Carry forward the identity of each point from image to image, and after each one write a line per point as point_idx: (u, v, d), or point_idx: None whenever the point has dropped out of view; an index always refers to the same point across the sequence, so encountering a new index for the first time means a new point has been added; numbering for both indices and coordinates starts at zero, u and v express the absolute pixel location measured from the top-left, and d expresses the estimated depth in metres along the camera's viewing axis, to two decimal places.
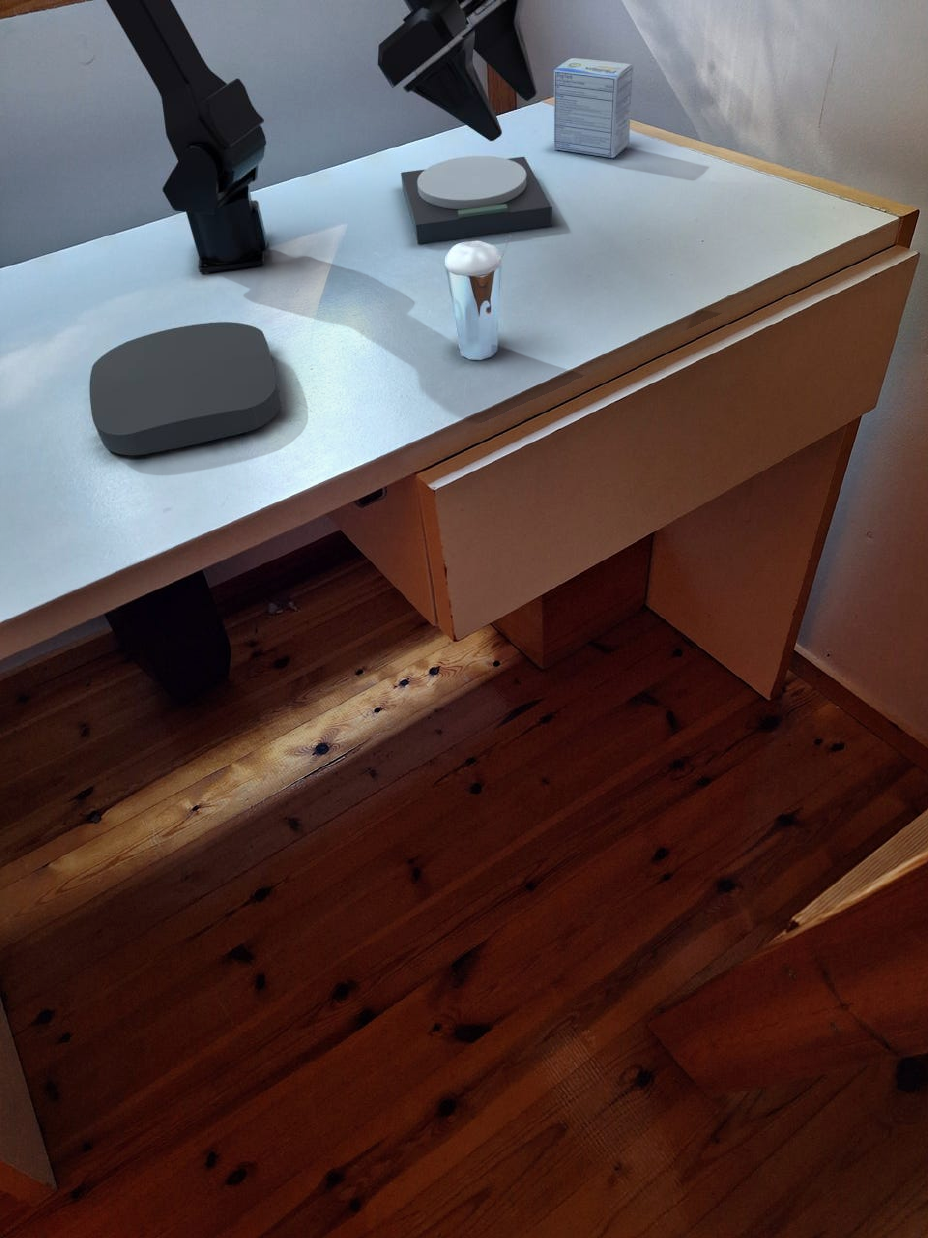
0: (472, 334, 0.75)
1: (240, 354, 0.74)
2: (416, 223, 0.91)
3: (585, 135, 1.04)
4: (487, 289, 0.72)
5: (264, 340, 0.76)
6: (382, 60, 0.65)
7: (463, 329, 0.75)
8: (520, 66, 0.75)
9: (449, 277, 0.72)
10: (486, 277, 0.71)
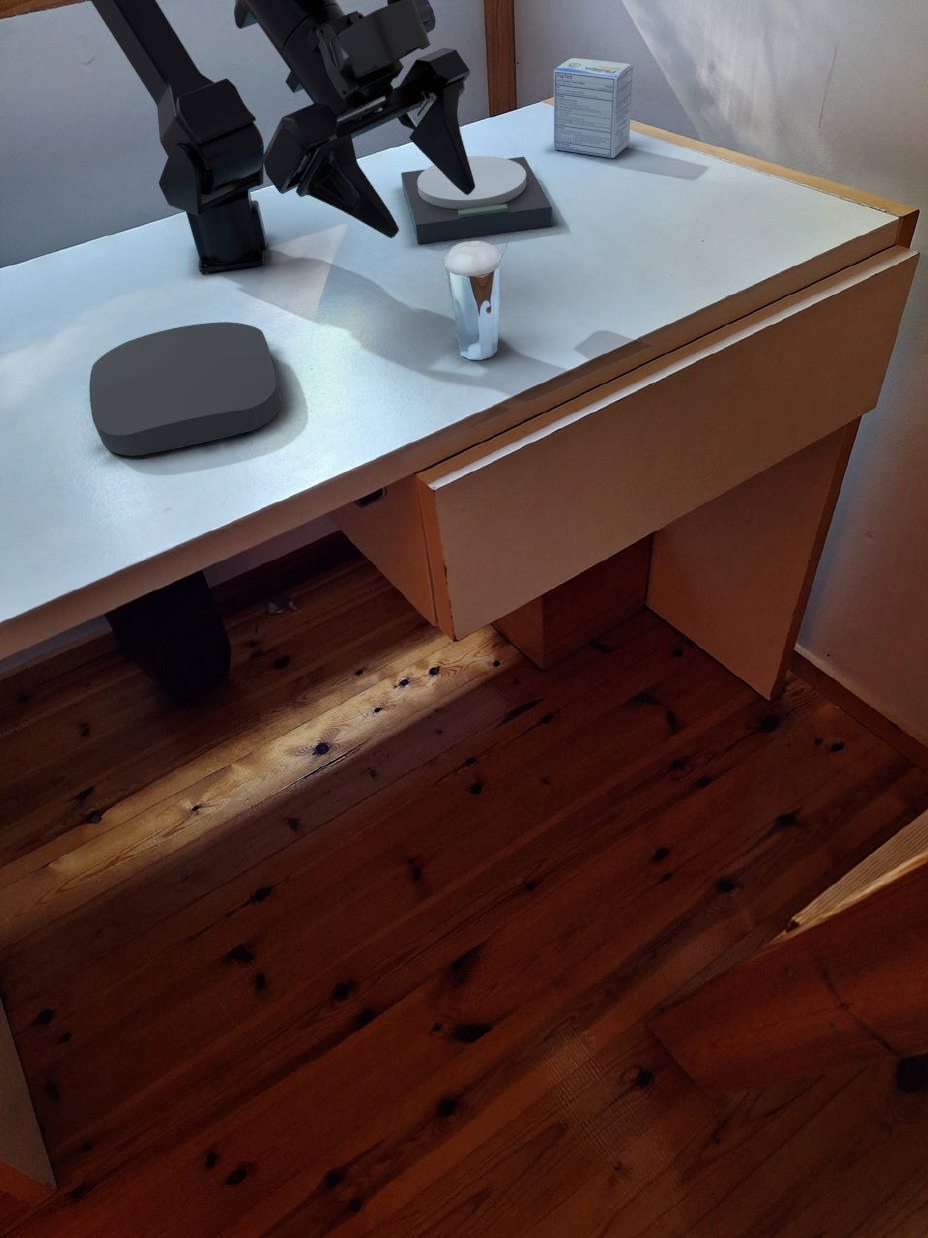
0: (472, 334, 0.75)
1: (240, 354, 0.74)
2: (416, 223, 0.91)
3: (585, 135, 1.04)
4: (487, 290, 0.72)
5: (264, 340, 0.76)
6: (265, 169, 0.67)
7: (463, 329, 0.75)
8: (455, 161, 0.73)
9: (449, 277, 0.72)
10: (486, 277, 0.71)
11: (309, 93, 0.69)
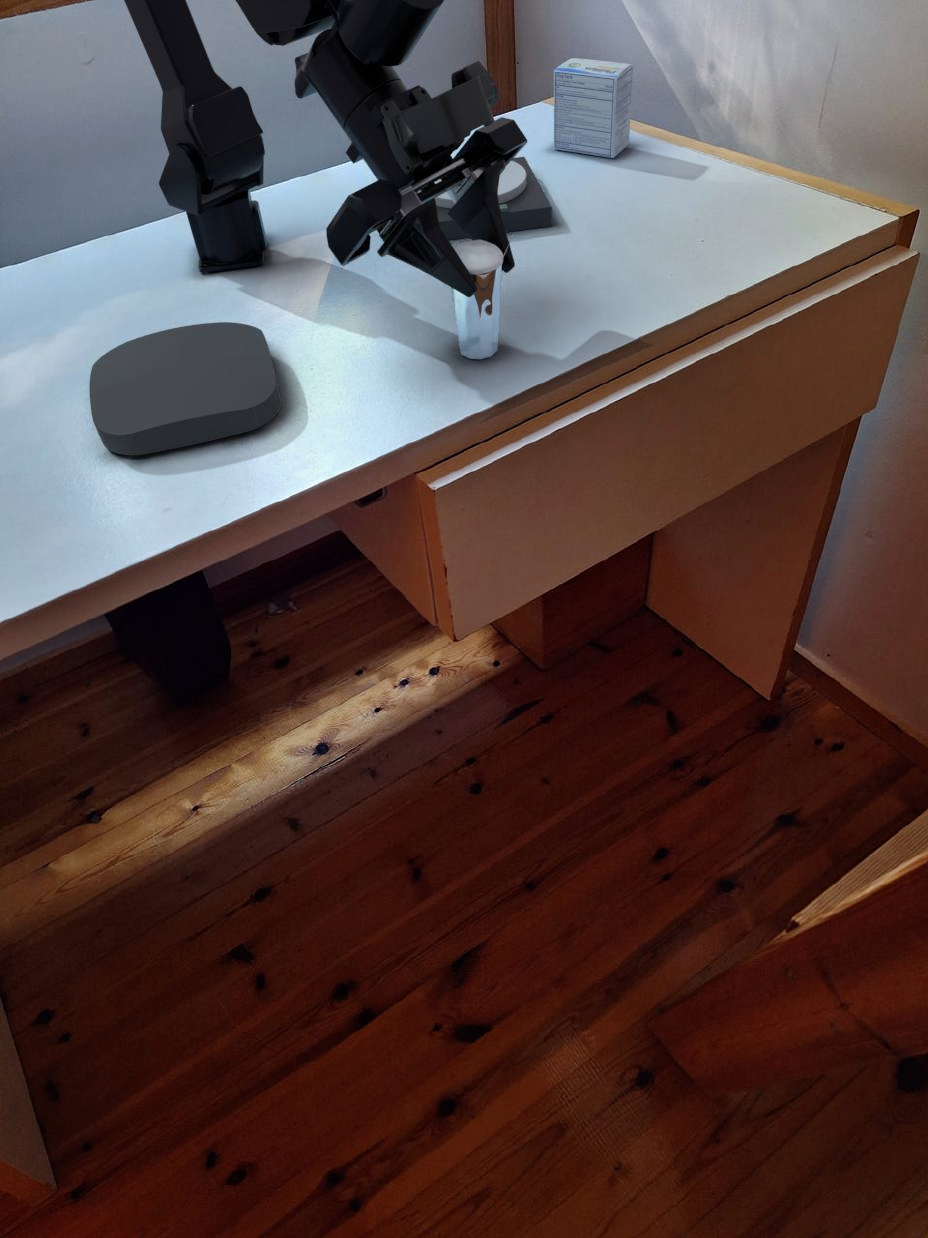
0: (473, 333, 0.75)
1: (240, 354, 0.74)
2: None
3: (585, 135, 1.04)
4: (488, 288, 0.72)
5: (264, 340, 0.76)
6: None
7: (463, 328, 0.75)
8: (495, 240, 0.72)
9: None
10: (488, 276, 0.71)
11: (370, 165, 0.69)
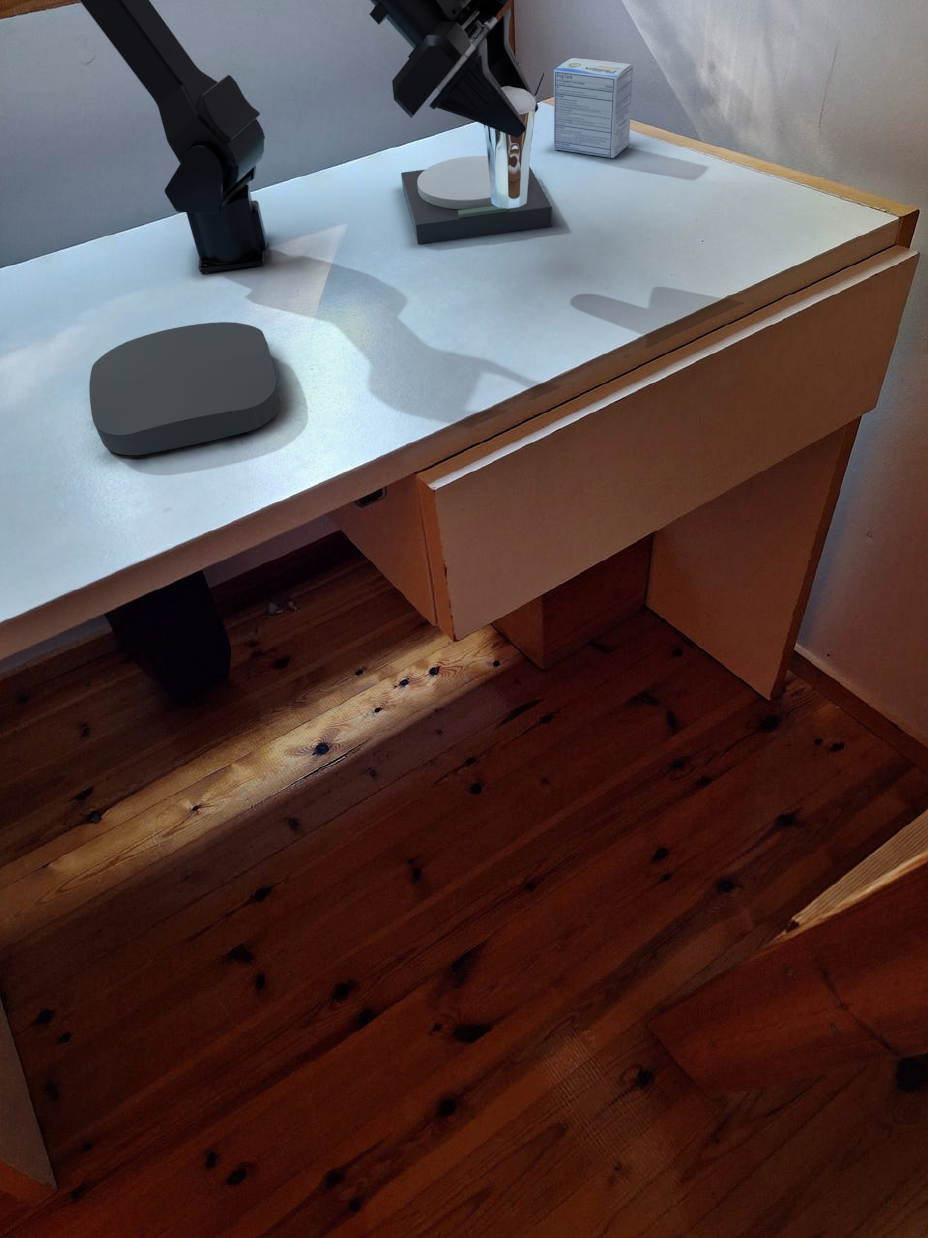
0: (513, 179, 0.78)
1: (240, 354, 0.74)
2: (416, 223, 0.91)
3: (585, 135, 1.04)
4: (529, 129, 0.76)
5: (264, 340, 0.76)
6: (397, 93, 0.68)
7: (504, 177, 0.78)
8: (518, 85, 0.77)
9: None
10: (530, 115, 0.75)
11: (403, 20, 0.71)
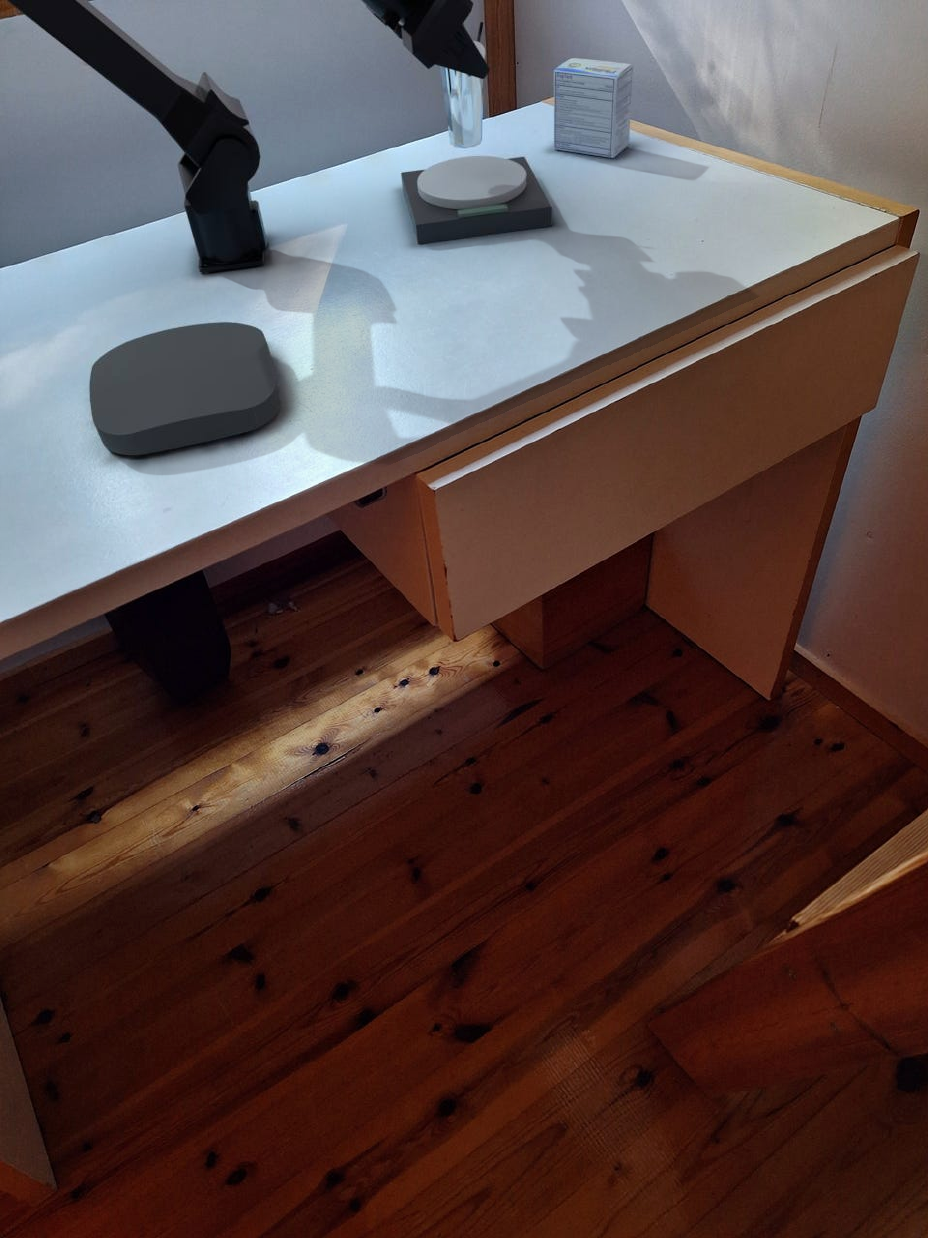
0: (477, 119, 0.90)
1: (240, 354, 0.74)
2: (416, 223, 0.91)
3: (585, 135, 1.04)
4: None
5: (264, 340, 0.76)
6: (420, 47, 0.77)
7: (469, 118, 0.89)
8: None
9: None
10: (484, 58, 0.87)
11: None
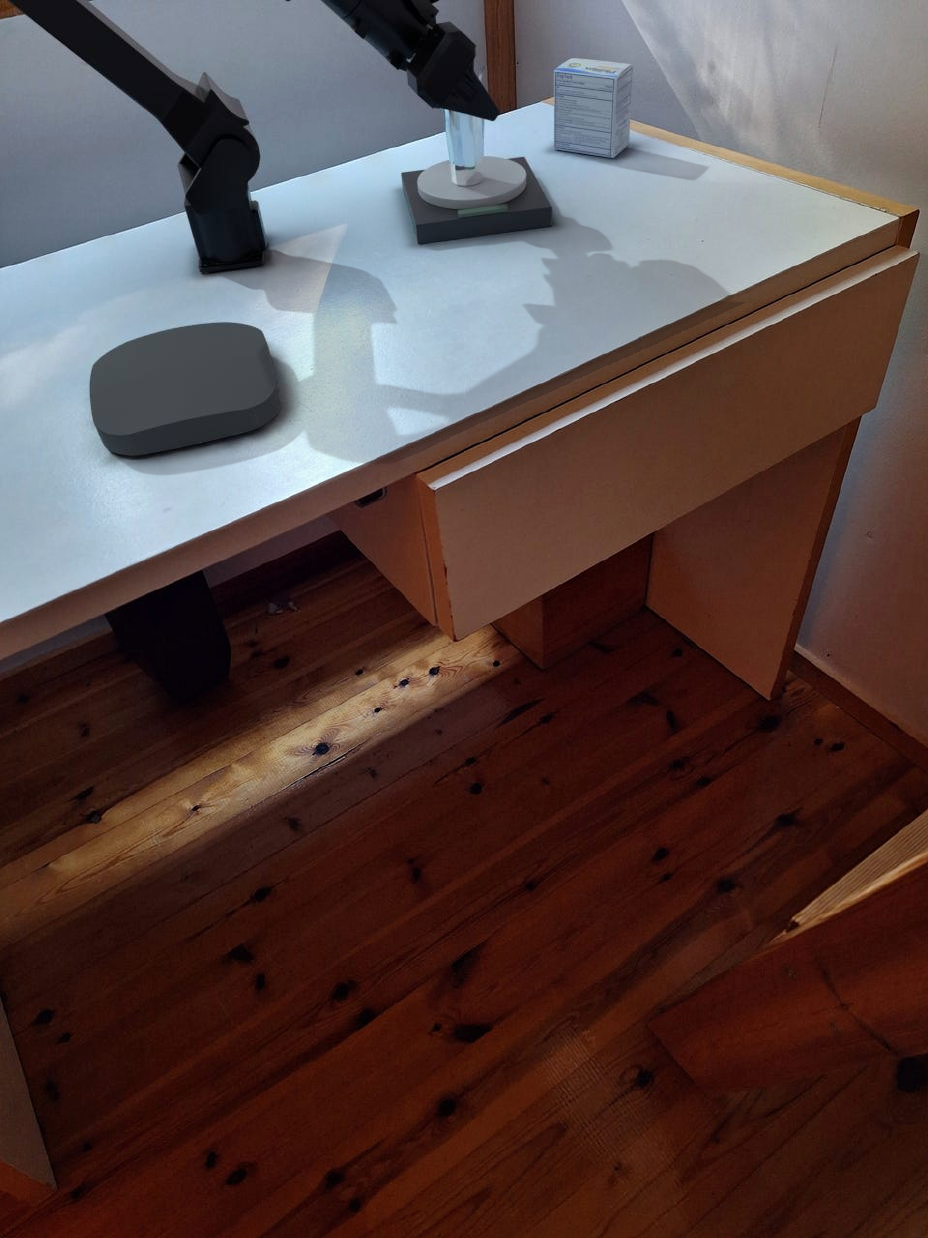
0: (478, 159, 0.92)
1: (240, 354, 0.74)
2: (416, 223, 0.91)
3: (585, 135, 1.04)
4: None
5: (264, 340, 0.76)
6: (425, 89, 0.79)
7: (471, 158, 0.92)
8: None
9: (462, 113, 0.88)
10: None
11: (387, 31, 0.81)
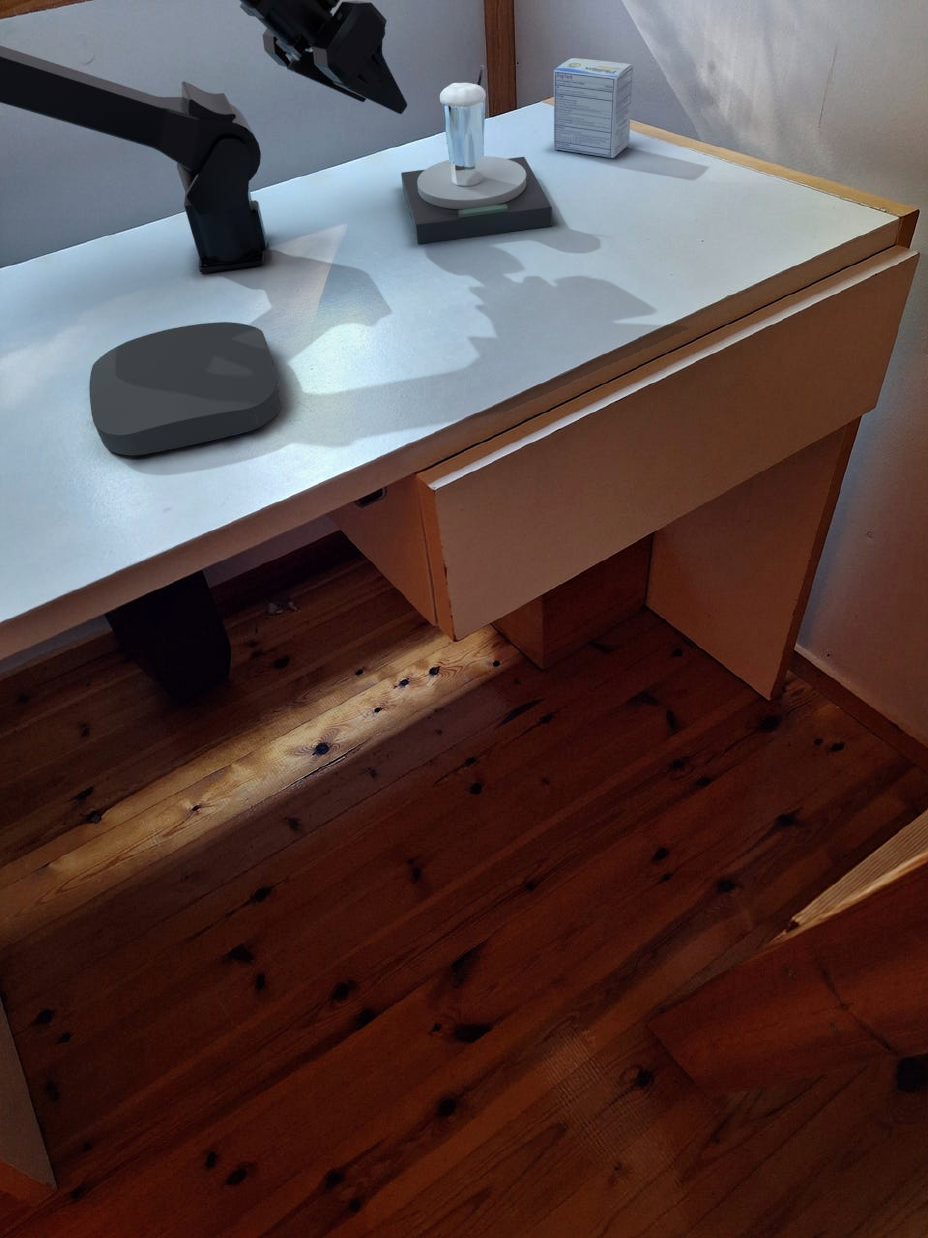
0: (478, 159, 0.92)
1: (240, 354, 0.74)
2: (416, 223, 0.91)
3: (585, 135, 1.04)
4: (484, 113, 0.90)
5: (264, 340, 0.76)
6: (336, 59, 0.76)
7: (471, 158, 0.92)
8: None
9: (462, 113, 0.88)
10: (485, 101, 0.89)
11: (289, 12, 0.78)
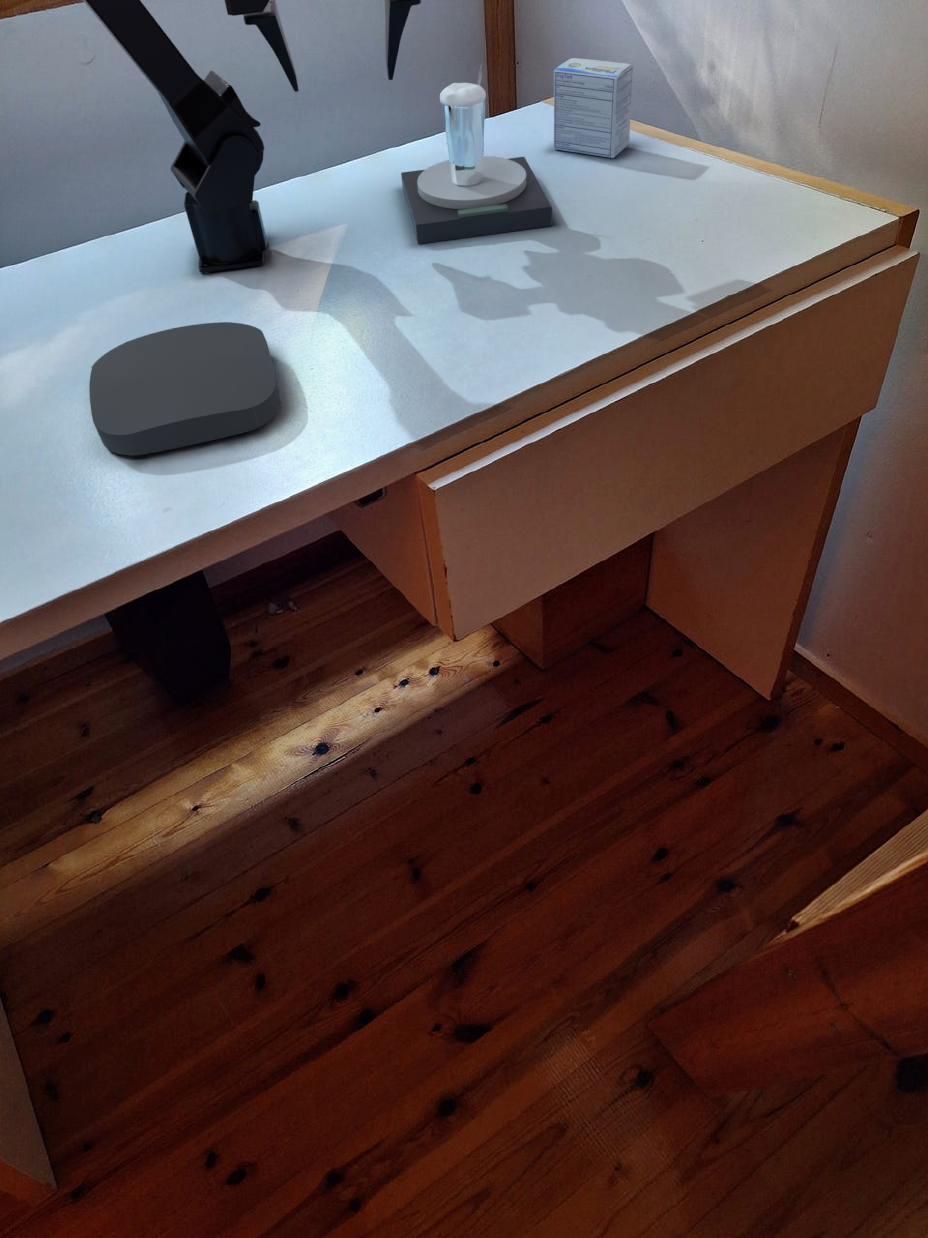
0: (478, 159, 0.92)
1: (240, 354, 0.74)
2: (416, 223, 0.91)
3: (585, 135, 1.04)
4: (484, 113, 0.90)
5: (264, 340, 0.76)
6: None
7: (471, 158, 0.92)
8: None
9: (462, 113, 0.88)
10: (485, 101, 0.89)
11: None
